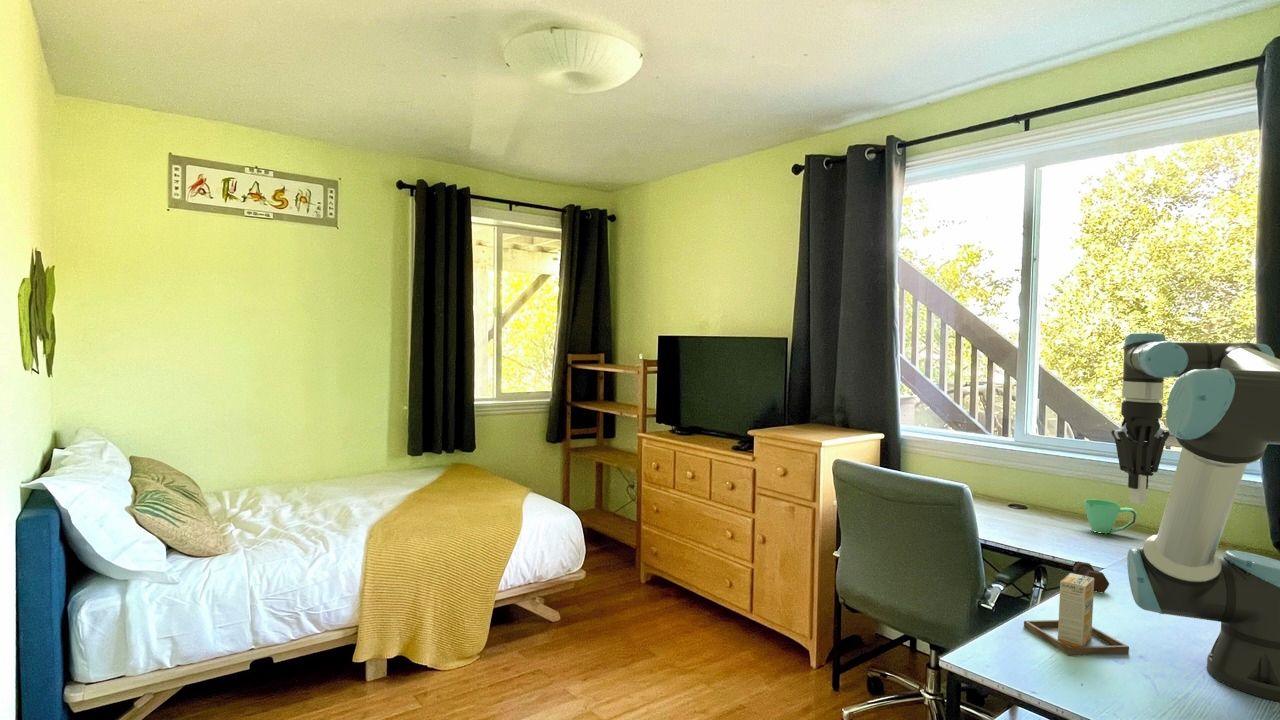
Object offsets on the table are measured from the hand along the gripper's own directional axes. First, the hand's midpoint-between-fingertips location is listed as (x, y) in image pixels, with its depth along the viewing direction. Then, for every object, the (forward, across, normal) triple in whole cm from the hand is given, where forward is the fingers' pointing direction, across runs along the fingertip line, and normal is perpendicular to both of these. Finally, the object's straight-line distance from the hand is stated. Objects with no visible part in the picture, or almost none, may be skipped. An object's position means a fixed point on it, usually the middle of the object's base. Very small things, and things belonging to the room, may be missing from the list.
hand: (1137, 502), depth 154 cm
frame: (+26, +24, +11) cm, 37 cm away
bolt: (+27, -7, -21) cm, 35 cm away
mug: (+27, -52, -64) cm, 87 cm away
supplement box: (+27, +24, +11) cm, 37 cm away
